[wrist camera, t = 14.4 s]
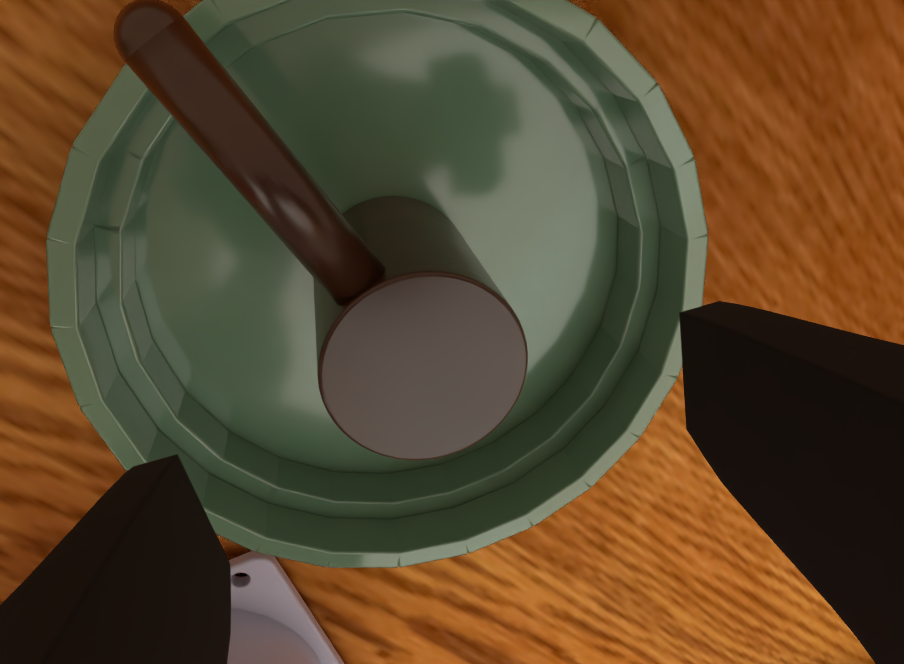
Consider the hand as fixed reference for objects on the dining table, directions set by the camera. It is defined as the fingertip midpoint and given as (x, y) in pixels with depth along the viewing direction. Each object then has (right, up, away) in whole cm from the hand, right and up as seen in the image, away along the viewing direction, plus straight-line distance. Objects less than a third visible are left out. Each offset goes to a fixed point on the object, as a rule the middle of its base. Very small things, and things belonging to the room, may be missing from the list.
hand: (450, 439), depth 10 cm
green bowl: (-1, +3, +7) cm, 8 cm away
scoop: (-3, +5, +5) cm, 7 cm away
